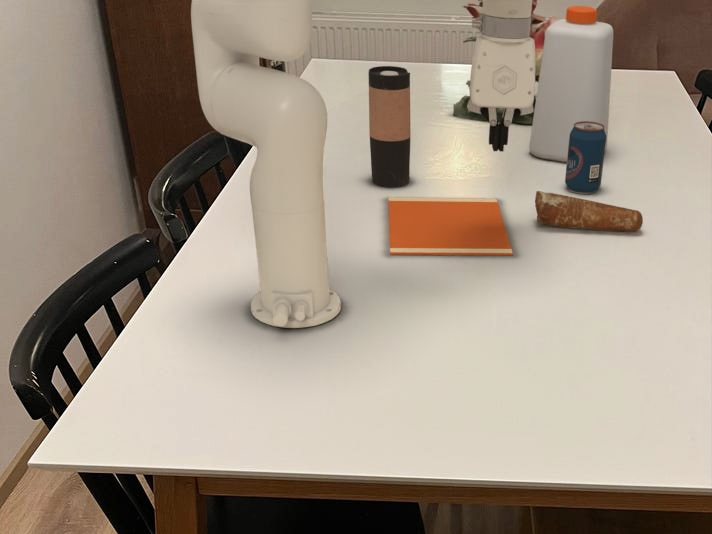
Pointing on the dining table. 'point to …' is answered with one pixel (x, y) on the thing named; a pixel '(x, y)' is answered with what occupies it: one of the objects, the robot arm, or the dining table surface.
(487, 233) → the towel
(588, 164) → the soda can
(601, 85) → the plastic bottle
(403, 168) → the travel mug
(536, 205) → the bread
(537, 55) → the rose bouquet
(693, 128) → the dining table surface
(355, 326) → the dining table surface
